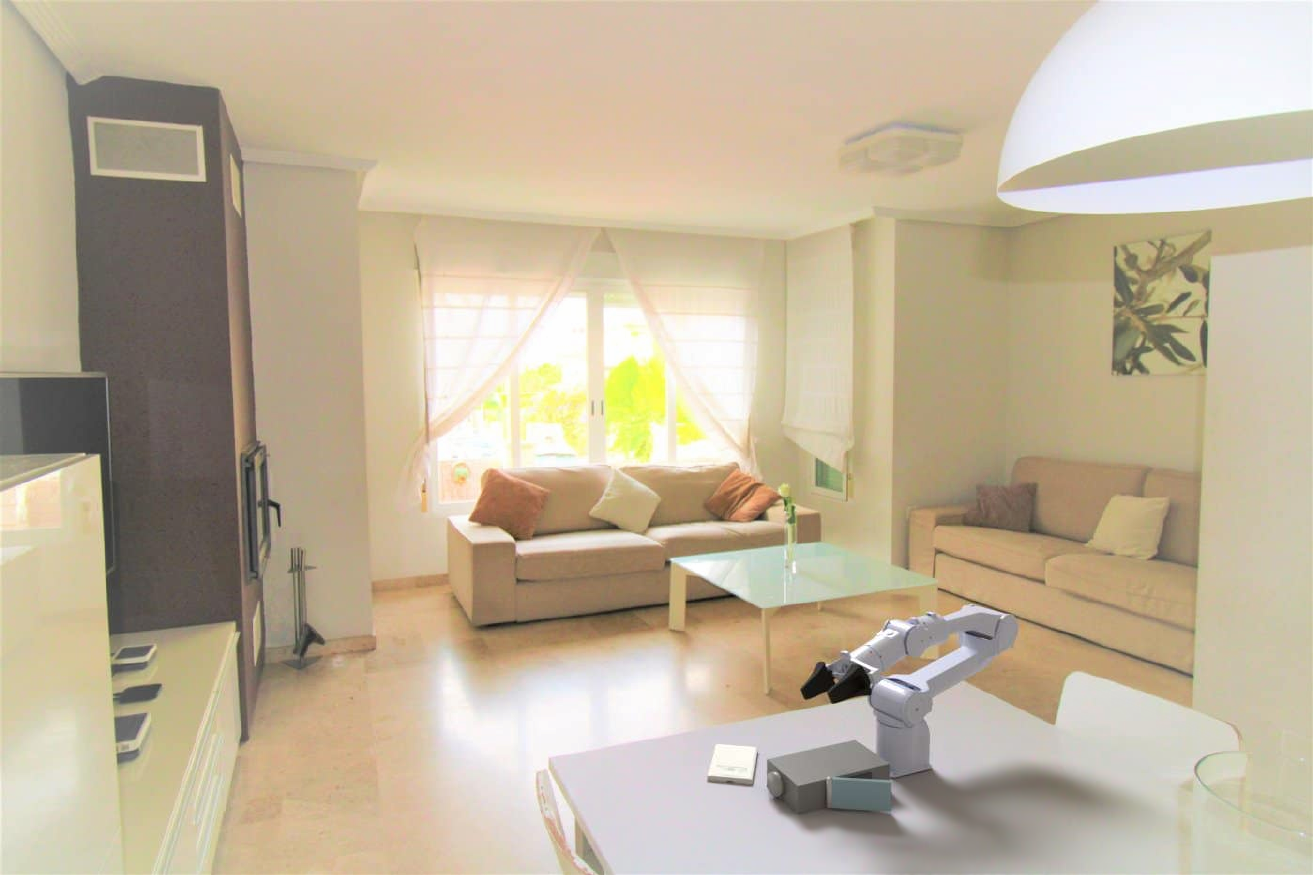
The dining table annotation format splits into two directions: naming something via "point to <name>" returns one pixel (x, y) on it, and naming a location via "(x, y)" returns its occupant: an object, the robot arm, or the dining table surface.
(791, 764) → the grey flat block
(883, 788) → the side door
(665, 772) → the dining table surface
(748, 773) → the external hard drive
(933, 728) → the dining table surface
